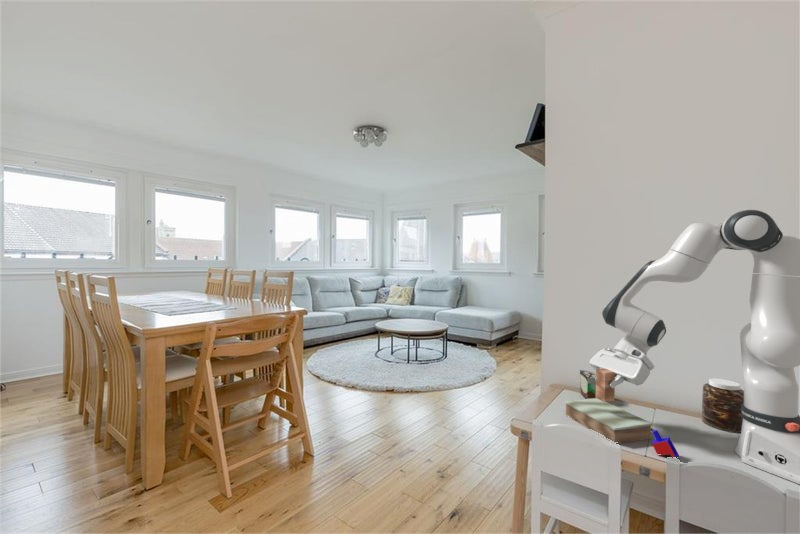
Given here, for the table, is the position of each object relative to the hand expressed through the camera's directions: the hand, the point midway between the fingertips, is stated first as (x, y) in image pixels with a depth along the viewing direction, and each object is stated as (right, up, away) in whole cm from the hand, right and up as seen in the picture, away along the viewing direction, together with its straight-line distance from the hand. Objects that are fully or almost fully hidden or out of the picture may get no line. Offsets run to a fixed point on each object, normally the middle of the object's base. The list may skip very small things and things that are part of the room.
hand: (603, 384), depth 126 cm
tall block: (+1, -5, 0) cm, 5 cm away
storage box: (+1, -15, 0) cm, 15 cm away
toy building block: (+8, -15, -19) cm, 25 cm away
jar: (+43, -15, +2) cm, 45 cm away
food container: (+9, -14, +26) cm, 31 cm away
